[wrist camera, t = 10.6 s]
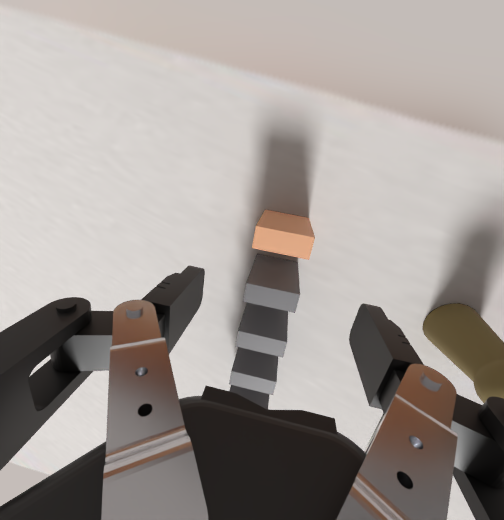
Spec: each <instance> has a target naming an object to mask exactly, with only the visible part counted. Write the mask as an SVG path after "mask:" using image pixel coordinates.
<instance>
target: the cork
mask: <svg viewBox="0 0 504 520" xmlns="http://www.w3.org/2000/svg"><path fill="white" fill-rule="evenodd" d="M423 331H424V335H425V336H426V337H427V338H428V340H430V341H431V342H432V343H433V344H434V345H435V346H436V347H437V348H438V349H439V350H440V351H441V352H442V353H443V354H444V355H446V356H447V357H448V358H449V359H450V360H451V361H452V362H453V363H454V364H455V365H456V366H457V367H458V368H459V369H461V370H462V371H463V372H464V373H465V374H466V375H467V376H468V377H469V378H470V379H471V380H472V381H473V382H474V387H475V390H476V393H477V395H478V396H479V398H480V399H481V400H482V401H483V403H485V401H486V400H487V399H488V398H489V397H492V396H494V397H500V398H503V399H504V342H503V341H502V340H501V339H500V338H499V337H498V336H497V334H496V333H495V332H494V331H493V330H492V329H491V328H490V327H489V325H488V324H487V323H486V322H485V321H484V320H483V319H482V318H481V317H480V315H479V314H478V313H477V312H476V311H475V310H474V309H473V308H471V307H469V306H468V305H464V304H459V303H457V304H447V305H443V306H440V307H438V308H436V309H434V310H433V311H432V312H431V313H430V314H428V315H427V317H426V319H425V320H424V323H423Z"/></svg>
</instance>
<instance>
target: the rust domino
mask: <svg viewBox="0 0 504 520" xmlns="http://www.w3.org/2000/svg"><path fill="white" fill-rule="evenodd" d="M314 239H315V236H314V233H313V230H312V227H311V223H310V220H309V218H307V217H301V216H296V215H291V214H286V213H281V212H275V211H270V210H265V211H264V213H263V214H262V216H261V218H260V219H259V221H258V223H257V225H256V227H255V233H254V239H253V245H252V248H254V249H259V250H264V251H269V252H274V253H279V254H283V255H288V256H293V257H298V258H303V259H308V260H309V258H310V254H311V250H312V247H313V243H314Z"/></svg>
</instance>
